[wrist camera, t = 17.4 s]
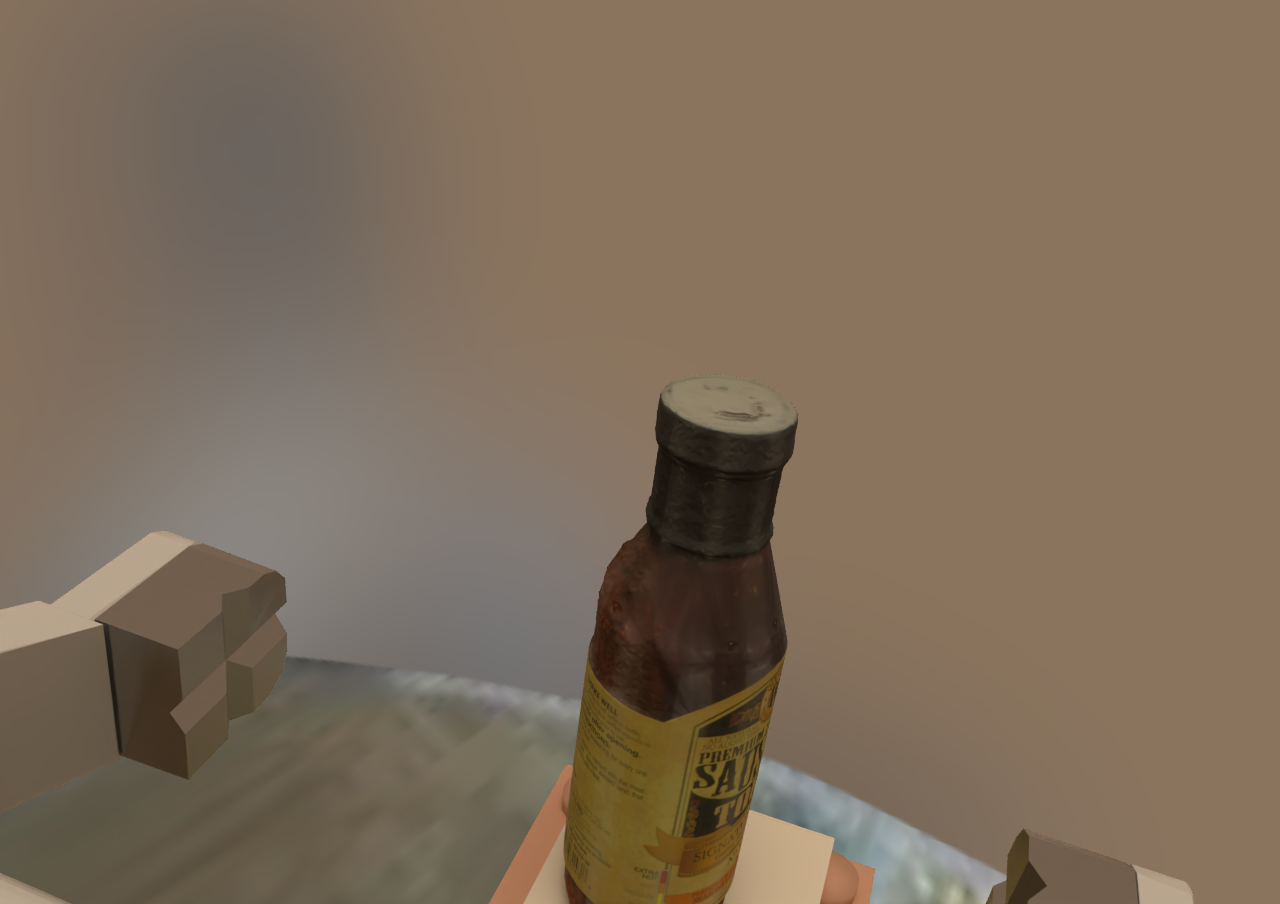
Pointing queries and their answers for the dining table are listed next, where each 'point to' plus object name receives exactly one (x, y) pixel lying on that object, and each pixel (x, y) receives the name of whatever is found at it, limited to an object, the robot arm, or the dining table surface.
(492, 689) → the dining table surface
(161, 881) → the dining table surface
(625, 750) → the sauce bottle
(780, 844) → the brick stack
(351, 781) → the dining table surface
